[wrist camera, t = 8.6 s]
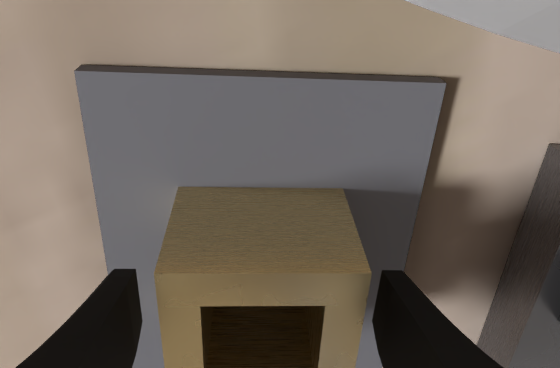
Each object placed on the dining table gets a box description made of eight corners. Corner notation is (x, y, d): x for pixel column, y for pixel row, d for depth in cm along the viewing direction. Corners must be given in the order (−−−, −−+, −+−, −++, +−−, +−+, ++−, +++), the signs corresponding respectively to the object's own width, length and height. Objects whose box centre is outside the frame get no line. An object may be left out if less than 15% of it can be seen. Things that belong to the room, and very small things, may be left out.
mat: (376, 363, 19) (380, 376, 19) (129, 365, 19) (125, 378, 18) (439, 77, 13) (446, 82, 13) (81, 64, 13) (74, 70, 12)
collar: (327, 309, 17) (347, 410, 13) (187, 309, 16) (169, 413, 13) (342, 188, 14) (371, 273, 11) (178, 186, 14) (153, 273, 11)
